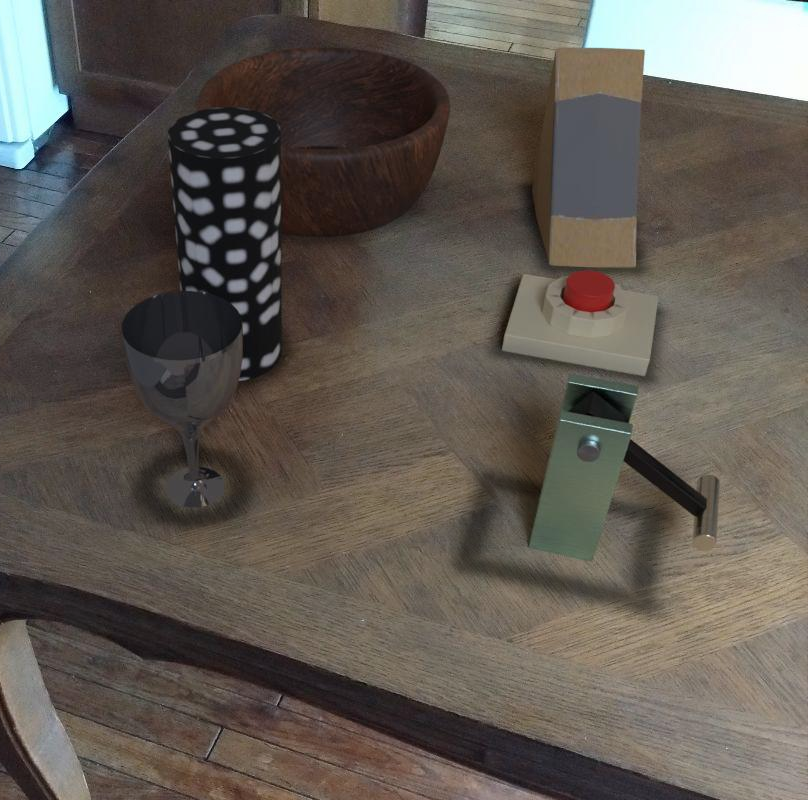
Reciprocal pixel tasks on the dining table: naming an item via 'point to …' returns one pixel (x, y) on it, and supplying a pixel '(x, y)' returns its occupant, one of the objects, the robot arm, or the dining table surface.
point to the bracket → (582, 470)
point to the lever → (666, 478)
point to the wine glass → (185, 374)
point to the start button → (589, 291)
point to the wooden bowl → (341, 132)
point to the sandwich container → (590, 158)
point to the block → (581, 327)
